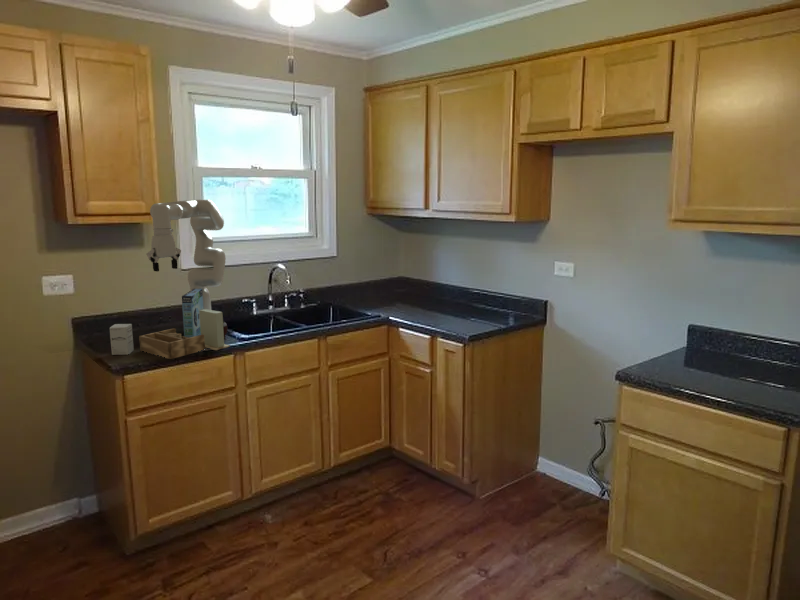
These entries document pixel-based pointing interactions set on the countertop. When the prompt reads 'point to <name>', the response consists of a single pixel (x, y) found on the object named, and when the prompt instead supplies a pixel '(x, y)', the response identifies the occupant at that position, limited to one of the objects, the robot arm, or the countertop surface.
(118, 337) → the supplement box
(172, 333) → the offcut pine
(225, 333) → the mate gourd
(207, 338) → the sage panel
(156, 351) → the oak rack
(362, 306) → the countertop surface
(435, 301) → the countertop surface
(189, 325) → the gum box
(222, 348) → the cork board
